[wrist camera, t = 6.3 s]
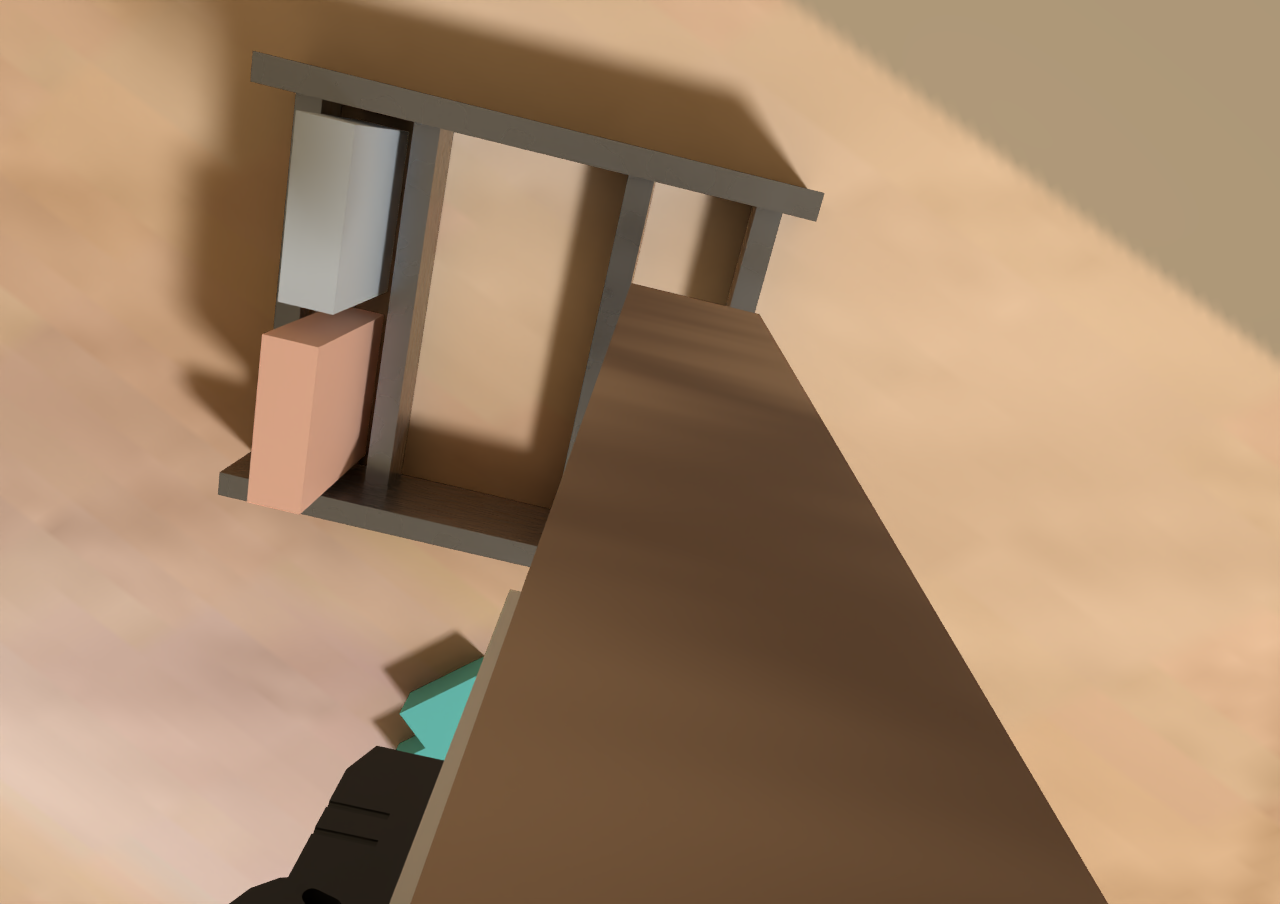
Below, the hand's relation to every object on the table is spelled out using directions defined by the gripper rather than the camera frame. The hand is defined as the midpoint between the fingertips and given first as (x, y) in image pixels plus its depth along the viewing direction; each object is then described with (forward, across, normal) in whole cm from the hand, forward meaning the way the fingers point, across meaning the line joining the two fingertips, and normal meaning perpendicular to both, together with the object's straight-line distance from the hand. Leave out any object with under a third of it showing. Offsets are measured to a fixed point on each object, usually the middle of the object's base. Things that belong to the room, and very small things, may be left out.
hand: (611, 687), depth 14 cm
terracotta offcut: (+24, -12, -4) cm, 27 cm away
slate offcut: (+24, -12, +4) cm, 27 cm away
